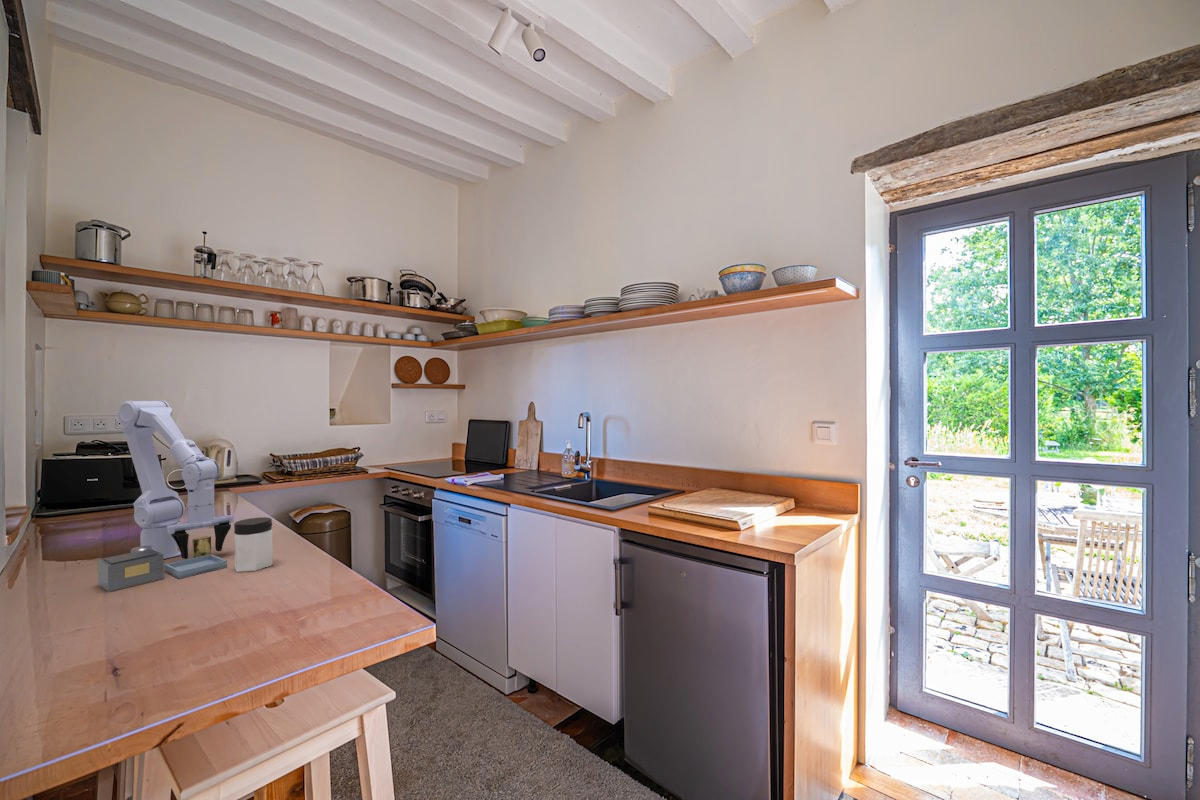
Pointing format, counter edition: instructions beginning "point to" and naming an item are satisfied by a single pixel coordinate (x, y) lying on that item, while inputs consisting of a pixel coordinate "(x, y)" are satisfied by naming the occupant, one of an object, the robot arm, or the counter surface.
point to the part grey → (140, 548)
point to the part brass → (201, 546)
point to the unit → (130, 569)
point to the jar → (253, 544)
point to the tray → (195, 566)
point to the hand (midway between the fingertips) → (202, 554)
